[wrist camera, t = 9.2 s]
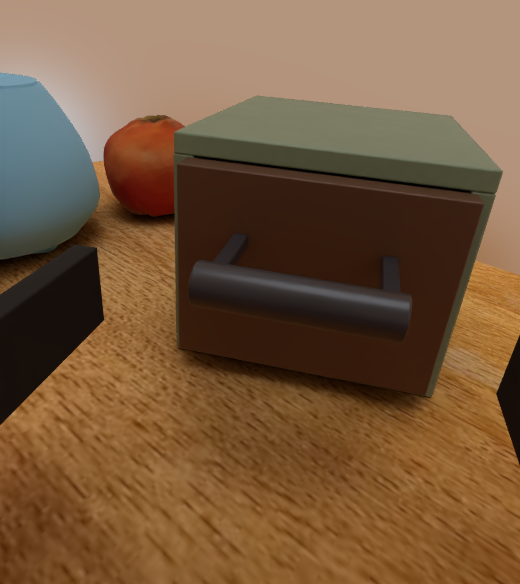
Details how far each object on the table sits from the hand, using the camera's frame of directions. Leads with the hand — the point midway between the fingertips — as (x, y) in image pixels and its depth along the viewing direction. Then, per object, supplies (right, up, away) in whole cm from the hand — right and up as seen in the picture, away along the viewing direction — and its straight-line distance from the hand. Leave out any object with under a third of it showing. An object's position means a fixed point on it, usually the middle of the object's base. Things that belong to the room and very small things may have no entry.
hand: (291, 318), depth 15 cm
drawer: (+2, -1, +11) cm, 11 cm away
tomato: (-10, +8, +28) cm, 31 cm away
